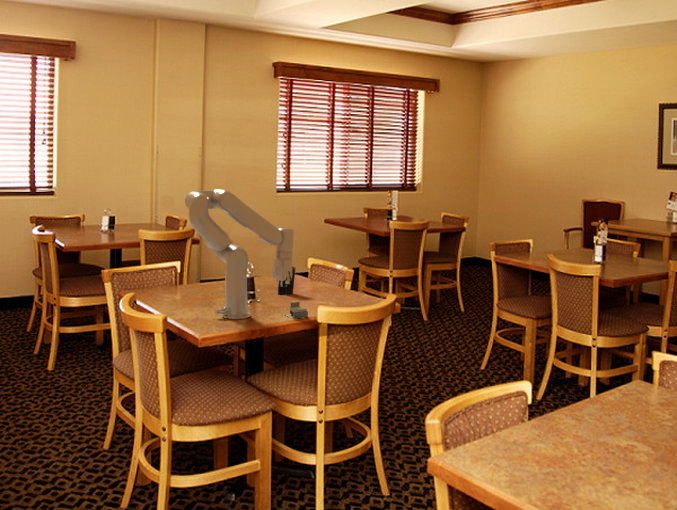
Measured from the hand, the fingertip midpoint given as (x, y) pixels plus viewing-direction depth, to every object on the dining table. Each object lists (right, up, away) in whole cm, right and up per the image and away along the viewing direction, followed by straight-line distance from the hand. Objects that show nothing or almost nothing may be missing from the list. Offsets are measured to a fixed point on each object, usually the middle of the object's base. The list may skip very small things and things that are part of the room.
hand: (281, 294), depth 316 cm
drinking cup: (0, -2, +42) cm, 42 cm away
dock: (+7, -9, -7) cm, 14 cm away
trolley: (+8, -9, -6) cm, 13 cm away
